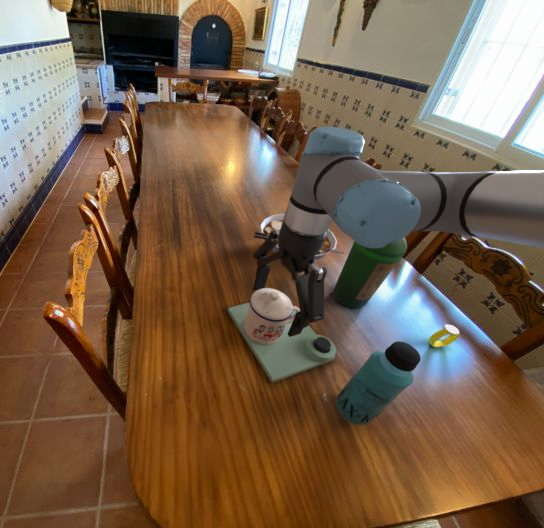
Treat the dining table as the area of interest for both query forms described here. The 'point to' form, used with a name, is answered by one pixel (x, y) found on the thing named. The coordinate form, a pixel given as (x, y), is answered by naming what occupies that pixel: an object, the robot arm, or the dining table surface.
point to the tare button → (322, 344)
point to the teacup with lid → (268, 315)
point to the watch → (445, 331)
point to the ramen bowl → (276, 223)
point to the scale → (284, 349)
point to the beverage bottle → (378, 383)
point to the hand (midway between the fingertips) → (274, 309)
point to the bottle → (366, 272)
